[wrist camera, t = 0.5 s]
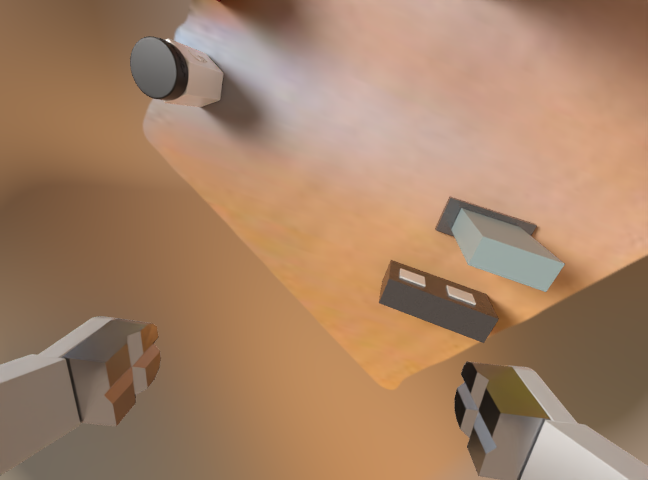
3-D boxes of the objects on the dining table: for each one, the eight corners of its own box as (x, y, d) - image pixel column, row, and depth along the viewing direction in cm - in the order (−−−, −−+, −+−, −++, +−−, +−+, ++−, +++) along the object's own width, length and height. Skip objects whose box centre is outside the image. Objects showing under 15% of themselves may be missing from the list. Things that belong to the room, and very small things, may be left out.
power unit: (391, 258, 57) (389, 277, 50) (486, 292, 55) (499, 317, 47) (382, 281, 59) (378, 302, 52) (473, 315, 57) (483, 342, 49)
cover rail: (449, 196, 51) (450, 197, 50) (534, 223, 49) (536, 225, 48) (435, 228, 53) (435, 230, 52) (515, 255, 51) (517, 258, 51)
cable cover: (461, 207, 50) (483, 236, 36) (519, 227, 49) (565, 263, 35) (451, 229, 51) (468, 264, 38) (507, 248, 50) (546, 292, 37)
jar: (233, 82, 54) (189, 69, 43) (208, 117, 57) (161, 113, 46) (197, 42, 53) (143, 18, 42) (174, 80, 56) (118, 67, 45)
